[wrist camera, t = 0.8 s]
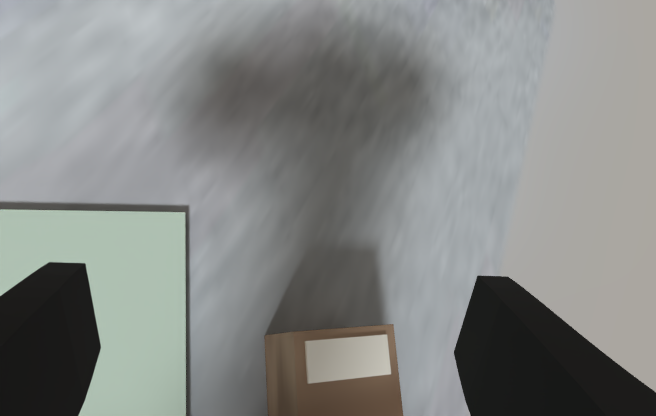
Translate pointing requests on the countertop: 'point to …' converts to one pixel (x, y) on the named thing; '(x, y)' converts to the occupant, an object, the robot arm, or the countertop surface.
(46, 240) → the sage mat
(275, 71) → the countertop surface
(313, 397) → the labeled brown box
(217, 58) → the countertop surface
